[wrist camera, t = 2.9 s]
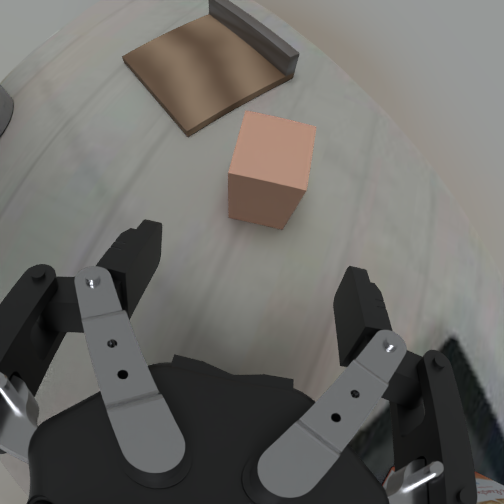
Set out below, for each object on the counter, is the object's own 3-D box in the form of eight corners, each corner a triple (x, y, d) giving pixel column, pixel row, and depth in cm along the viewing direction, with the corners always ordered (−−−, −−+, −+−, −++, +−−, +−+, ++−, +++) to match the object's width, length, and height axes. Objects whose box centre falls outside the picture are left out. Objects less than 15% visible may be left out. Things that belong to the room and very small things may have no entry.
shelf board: (187, 137, 28) (182, 112, 24) (124, 62, 30) (115, 39, 26) (294, 77, 30) (301, 52, 26) (218, 16, 32) (218, -8, 28)
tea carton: (228, 217, 27) (228, 172, 18) (240, 169, 28) (245, 110, 19) (284, 230, 27) (309, 191, 18) (293, 181, 28) (319, 127, 19)
